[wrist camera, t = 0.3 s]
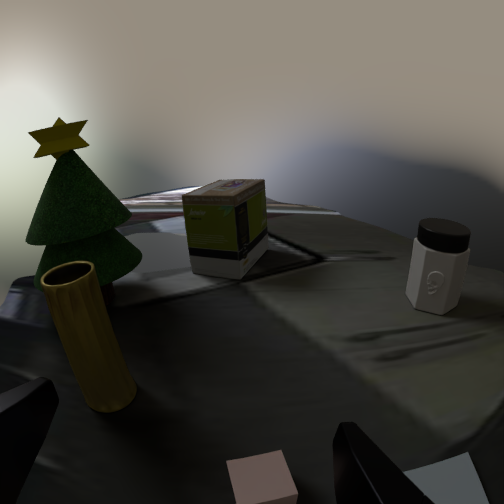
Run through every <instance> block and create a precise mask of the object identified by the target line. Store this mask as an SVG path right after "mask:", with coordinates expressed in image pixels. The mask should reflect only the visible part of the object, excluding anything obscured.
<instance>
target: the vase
mask: <svg viewBox="0 0 504 504" xmlns="http://www.w3.org/2000/svg"><path fill="white" fill-rule="evenodd" d="M40 282H41V287H42V289H43V292H44V294H45V297H46V301H47V305H48V308H49V311H50V313H51V316H52V318H53V321H54V323H55V326H56V329H57V331H58V334H59V337H60V339H61V342H62V345H63V347H64V350H65V352H66V355H67V357H68V360H69V363H70V365H71V368H72V370H73V372H74V375H75V377H76V379H77V381H78V384H79V386H80V388H81V390H82V392H83V394H84V397H85V401H86V403H87V404H88V406H89V407H91V408H92V409H94V410H96V411H99V412H105V413H109V412H115V411H118V410H121V409H123V408H125V407H126V406H127V405H129V404H130V403H131V402H132V400H133V399H134V397H135V395H136V392H137V386H136V383H135V381H134V380H133V378H132V377H131V375H130V373H129V370H128V368H127V365H126V363H125V361H124V358H123V355H122V352H121V349H120V347H119V344H118V341H117V339H116V337H115V334H114V331H113V328H112V325H111V322H110V319H109V316H108V313H107V310H106V306H105V303H104V300H103V296H102V293H101V289H100V286H99V282H98V279H97V275H96V271H95V267H94V264H93V263H91V262H89V261H74V262H69V263H65V264H62V265H59V266H57V267H54V268H53V269H51V270H49V271H48V272H46V273H45V274H44V275H43V276H42V277H41V281H40Z"/></svg>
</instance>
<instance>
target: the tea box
mask: <svg viewBox="0 0 504 504" xmlns="http://www.w3.org/2000/svg"><path fill="white" fill-rule="evenodd" d="M182 203H183V212H184V218H185V228H186V233H187V242H188V249H189V255H190V263H191V269H192V272H193V273H195V274H201V275H208V276H215V277H222V278H230V279H241V278H242V277H243V276H244V275H245V274H246V273H247V272H248V270H249V269H250V268H251V267H252V266H253V265H254V264H255V263H256V262H257V260H258V259H259V258H260V257H261V256H262V255H263V254H264V253H265V251H266V250H267V249H268V232H267V212H266V196H265V180H263V179H259V180H258V179H255V180H254V179H234V180H218V181H216V182H213V183H211V184H208V185H206V186H203V187H201V188H198V189H196V190H193V191H191V192H189V193H186V194H184V195H182Z"/></svg>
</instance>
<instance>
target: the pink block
mask: <svg viewBox="0 0 504 504" xmlns="http://www.w3.org/2000/svg"><path fill="white" fill-rule="evenodd" d="M226 462H227V466H228V470H229V475H230V479H231V483H232V487H233V491H234V495H235V499H236V503H237V504H296V502H297V497H298V492H297V489H296V487H295V484H294V482H293V479H292V477H291V474H290V471H289V469H288V466H287V464H286V461H285V459H284V456H283V453H282V451H281V450H279V451H275V452H270V453H266V454H261V455H256V456H251V457H246V458H241V459H235V460H229V461H226Z"/></svg>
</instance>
